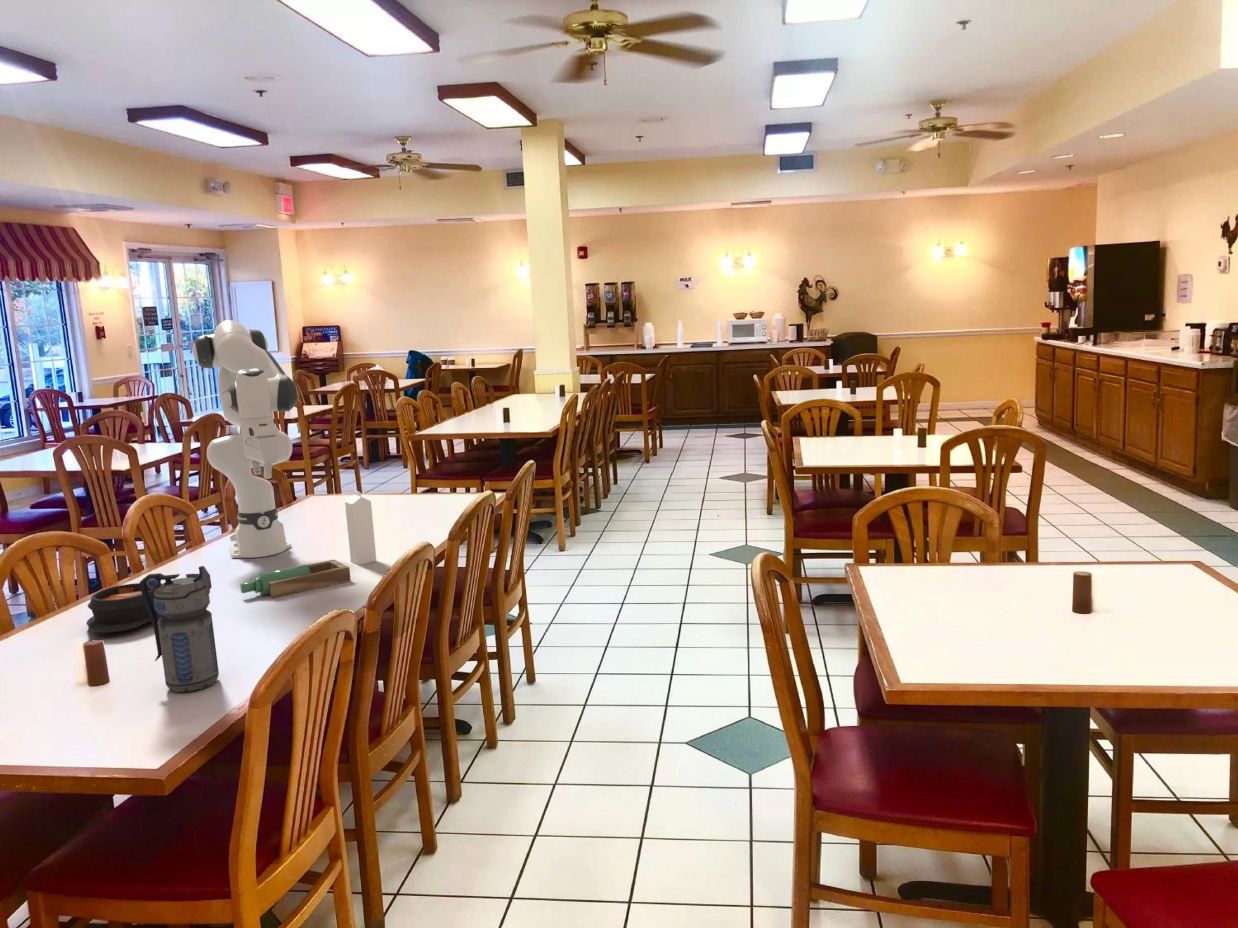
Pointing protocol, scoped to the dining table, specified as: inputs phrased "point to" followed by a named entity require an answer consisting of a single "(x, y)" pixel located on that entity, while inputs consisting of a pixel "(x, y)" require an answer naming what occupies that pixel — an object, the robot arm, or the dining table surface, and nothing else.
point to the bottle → (272, 579)
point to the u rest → (311, 579)
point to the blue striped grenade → (183, 628)
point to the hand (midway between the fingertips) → (262, 476)
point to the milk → (360, 529)
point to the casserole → (119, 609)
